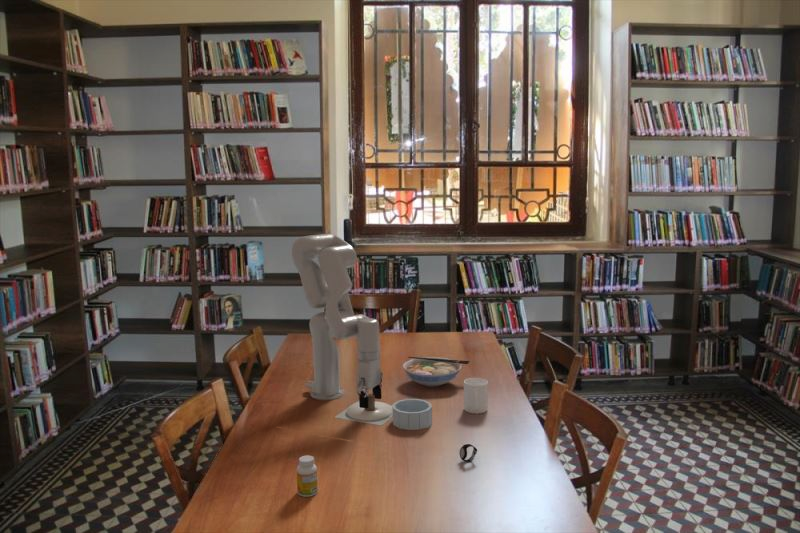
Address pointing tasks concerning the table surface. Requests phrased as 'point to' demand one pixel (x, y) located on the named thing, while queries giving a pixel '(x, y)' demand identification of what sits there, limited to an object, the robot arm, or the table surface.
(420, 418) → the bowl
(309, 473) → the supplement bottle
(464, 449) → the smartwatch
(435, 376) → the ramen bowl
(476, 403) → the mug
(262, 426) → the table surface
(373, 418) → the lid
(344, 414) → the mat
